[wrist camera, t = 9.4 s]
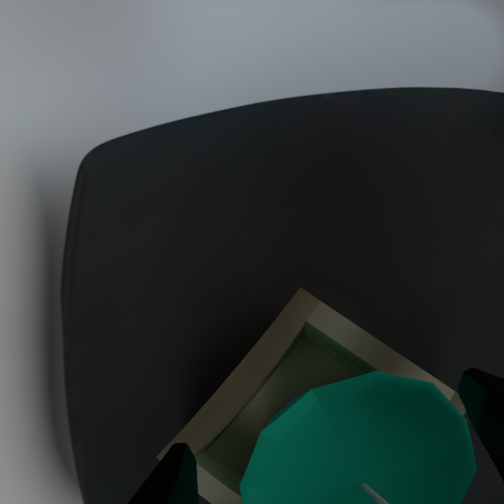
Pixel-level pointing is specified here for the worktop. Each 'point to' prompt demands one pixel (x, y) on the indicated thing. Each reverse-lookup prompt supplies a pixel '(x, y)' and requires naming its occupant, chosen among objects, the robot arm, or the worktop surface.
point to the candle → (363, 446)
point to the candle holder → (282, 387)
